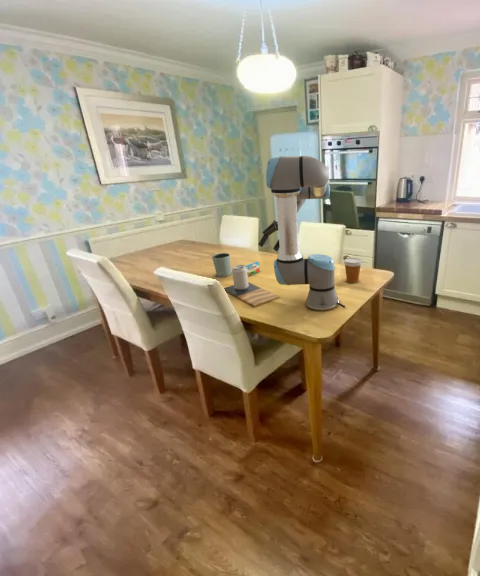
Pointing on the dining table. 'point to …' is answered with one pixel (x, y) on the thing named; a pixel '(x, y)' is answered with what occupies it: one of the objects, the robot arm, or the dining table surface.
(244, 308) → the dining table surface
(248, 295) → the board
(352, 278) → the disposable coffee cup
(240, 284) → the can
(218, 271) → the grey cylindrical pot
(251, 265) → the colorful food box
